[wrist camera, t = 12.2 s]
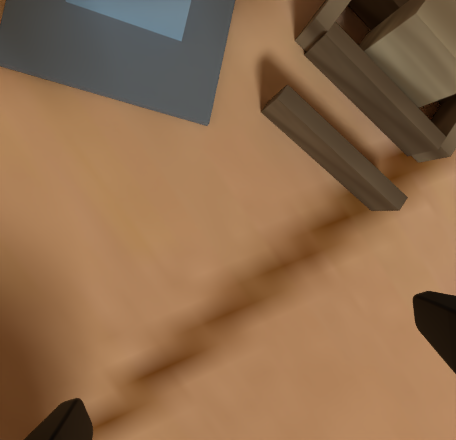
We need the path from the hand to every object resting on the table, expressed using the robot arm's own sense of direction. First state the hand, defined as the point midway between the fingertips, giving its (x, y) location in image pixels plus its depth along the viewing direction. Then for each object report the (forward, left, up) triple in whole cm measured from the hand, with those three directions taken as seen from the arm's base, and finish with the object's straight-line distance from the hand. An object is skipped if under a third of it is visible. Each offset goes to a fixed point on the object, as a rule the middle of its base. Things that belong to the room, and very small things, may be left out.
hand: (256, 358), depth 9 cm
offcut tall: (+17, +6, -11) cm, 22 cm away
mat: (+4, +15, -11) cm, 19 cm away
